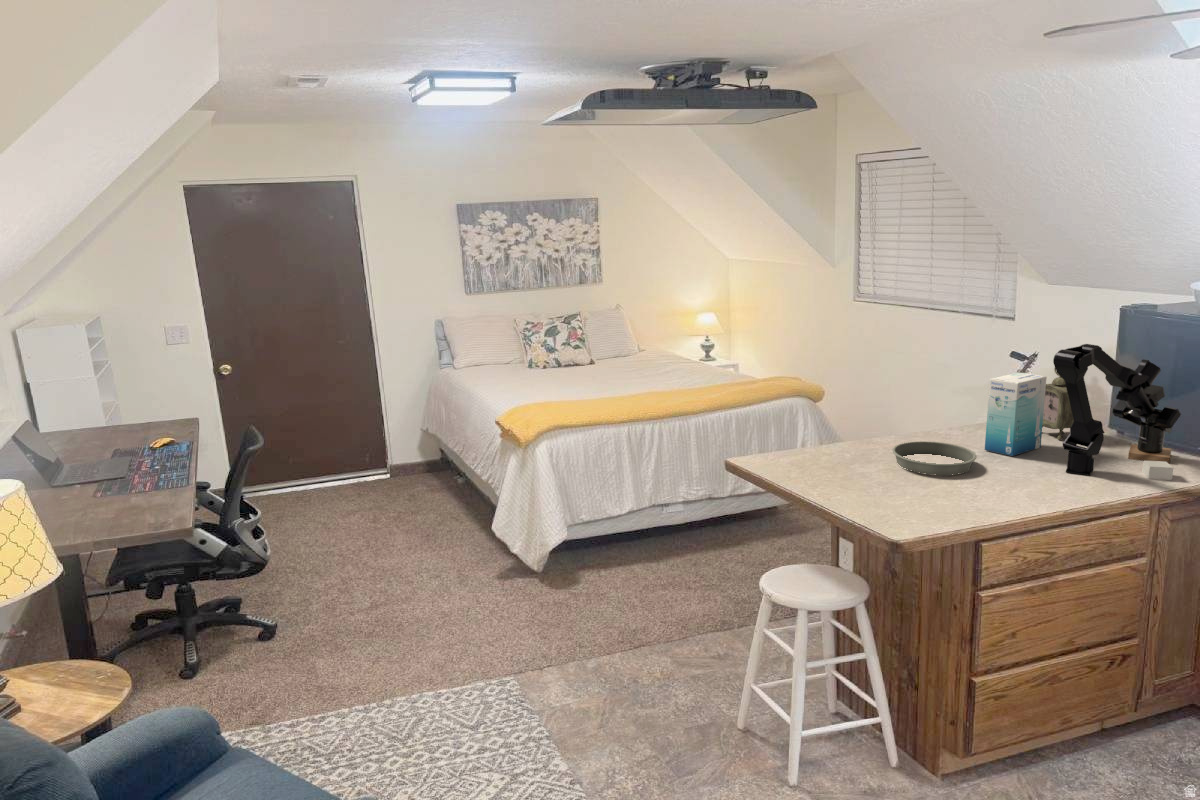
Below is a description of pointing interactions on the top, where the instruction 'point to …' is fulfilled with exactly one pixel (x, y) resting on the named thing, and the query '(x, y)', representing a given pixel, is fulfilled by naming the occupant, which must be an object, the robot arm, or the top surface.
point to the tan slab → (1149, 455)
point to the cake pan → (934, 449)
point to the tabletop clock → (1057, 406)
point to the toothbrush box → (1015, 413)
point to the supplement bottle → (1150, 436)
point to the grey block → (1157, 470)
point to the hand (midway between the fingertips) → (1155, 428)
